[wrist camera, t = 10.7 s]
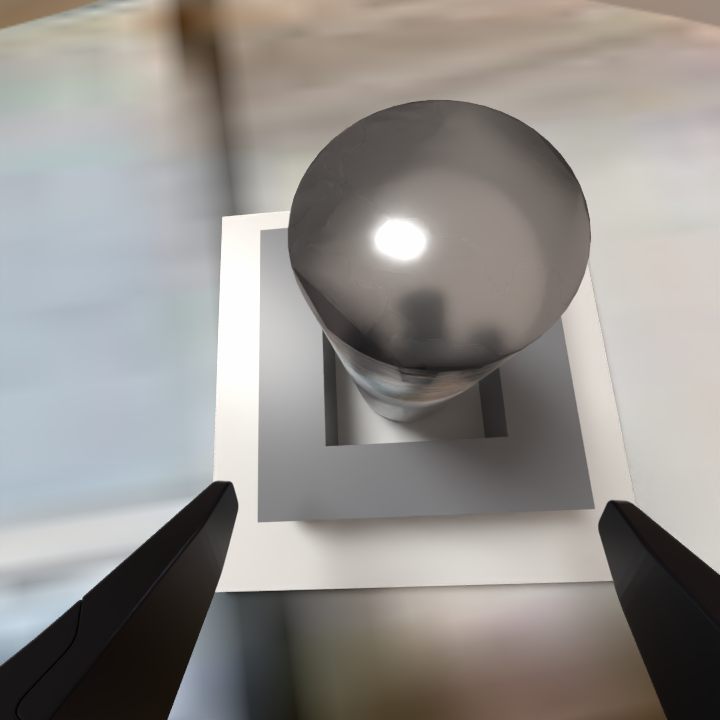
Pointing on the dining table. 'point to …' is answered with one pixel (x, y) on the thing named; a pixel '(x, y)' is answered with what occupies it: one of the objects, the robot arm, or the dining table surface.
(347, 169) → the grey cylindrical piece
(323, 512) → the mount
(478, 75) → the dining table surface
